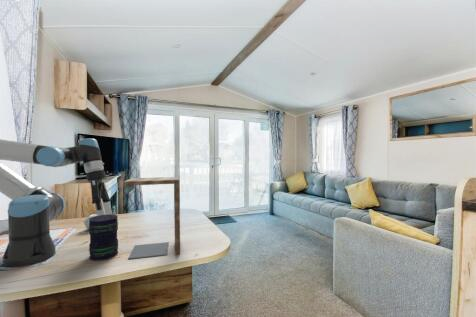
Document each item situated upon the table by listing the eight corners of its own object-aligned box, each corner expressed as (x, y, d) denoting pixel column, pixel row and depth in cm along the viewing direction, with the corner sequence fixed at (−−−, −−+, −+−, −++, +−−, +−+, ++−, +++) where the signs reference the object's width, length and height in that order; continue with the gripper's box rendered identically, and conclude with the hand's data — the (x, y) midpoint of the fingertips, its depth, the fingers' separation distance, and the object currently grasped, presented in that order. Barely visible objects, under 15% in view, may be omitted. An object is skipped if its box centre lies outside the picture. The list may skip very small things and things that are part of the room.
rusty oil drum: (83, 261, 84) (82, 221, 84) (97, 250, 94) (97, 214, 94) (111, 260, 85) (110, 220, 85) (122, 249, 95) (122, 214, 95)
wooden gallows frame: (125, 260, 85) (124, 181, 85) (132, 246, 99) (131, 178, 98) (180, 254, 90) (179, 179, 90) (180, 241, 104) (179, 176, 103)
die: (86, 228, 125) (78, 217, 119) (102, 218, 130) (94, 207, 124) (92, 237, 121) (84, 226, 115) (108, 226, 126) (101, 215, 120)
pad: (128, 259, 86) (128, 258, 86) (134, 246, 98) (134, 245, 98) (167, 255, 89) (166, 254, 89) (168, 242, 102) (168, 242, 102)
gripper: (96, 165, 95) (108, 215, 93) (110, 172, 118) (119, 212, 116) (75, 170, 92) (87, 221, 90) (93, 176, 116) (103, 217, 114)
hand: (105, 216), depth 103 cm, fingers open, 13 cm apart
